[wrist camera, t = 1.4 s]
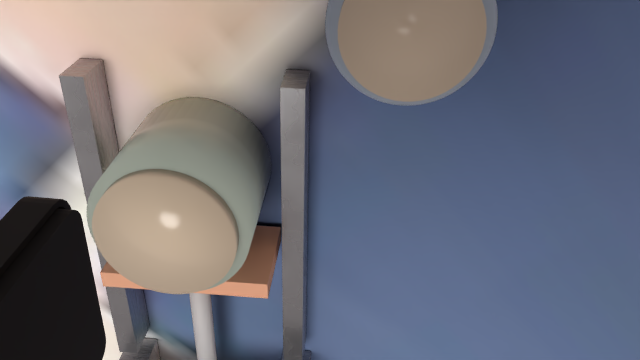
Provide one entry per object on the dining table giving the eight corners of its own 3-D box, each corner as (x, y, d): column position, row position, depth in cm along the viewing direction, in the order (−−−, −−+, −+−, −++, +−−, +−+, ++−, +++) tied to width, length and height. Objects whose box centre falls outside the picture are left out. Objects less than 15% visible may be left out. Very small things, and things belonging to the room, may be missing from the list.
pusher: (133, 217, 30) (100, 272, 26) (280, 227, 29) (267, 284, 26) (157, 353, 35) (132, 415, 31) (282, 363, 34) (271, 427, 31)
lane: (73, 57, 26) (3, 114, 21) (317, 70, 25) (303, 132, 20) (137, 371, 36) (100, 457, 31) (310, 386, 36) (299, 475, 31)
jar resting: (125, 93, 26) (64, 161, 21) (269, 101, 26) (244, 172, 21) (144, 212, 30) (96, 296, 25) (272, 221, 30) (251, 307, 24)
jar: (340, -98, 22) (326, -64, 16) (478, -92, 21) (517, -56, 15) (334, 36, 24) (321, 108, 18) (458, 42, 24) (484, 118, 18)
